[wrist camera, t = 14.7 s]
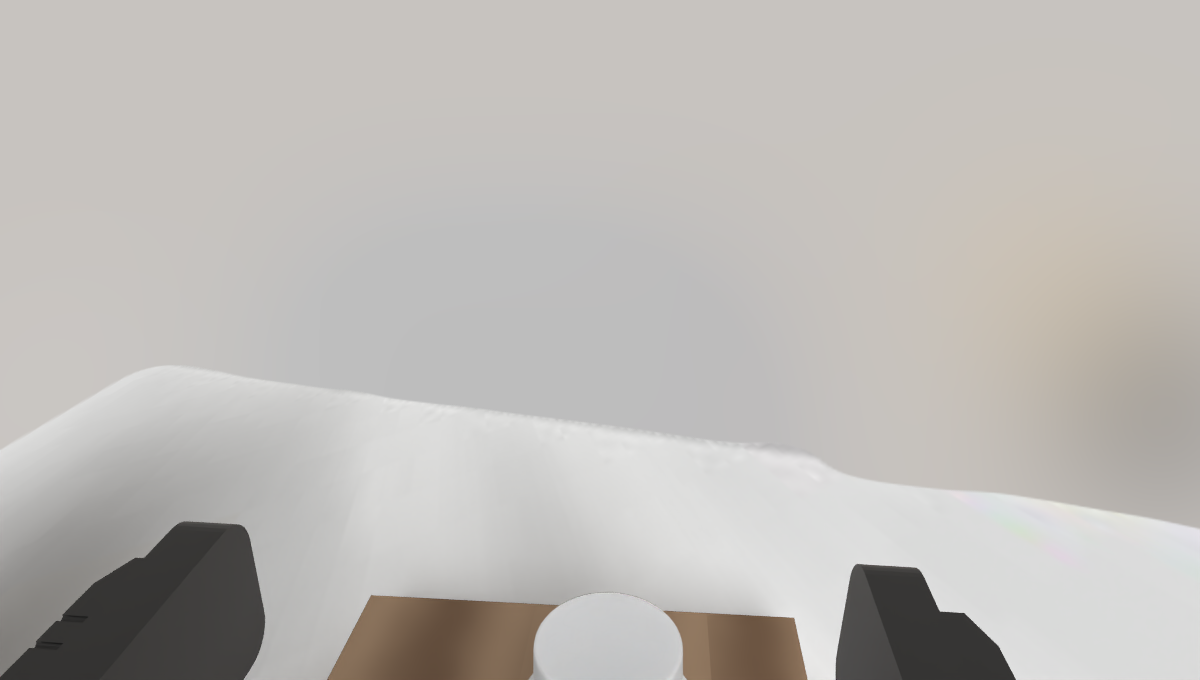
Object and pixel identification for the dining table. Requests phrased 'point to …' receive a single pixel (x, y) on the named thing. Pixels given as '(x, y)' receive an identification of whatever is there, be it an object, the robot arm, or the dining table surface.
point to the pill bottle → (607, 641)
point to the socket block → (507, 632)
